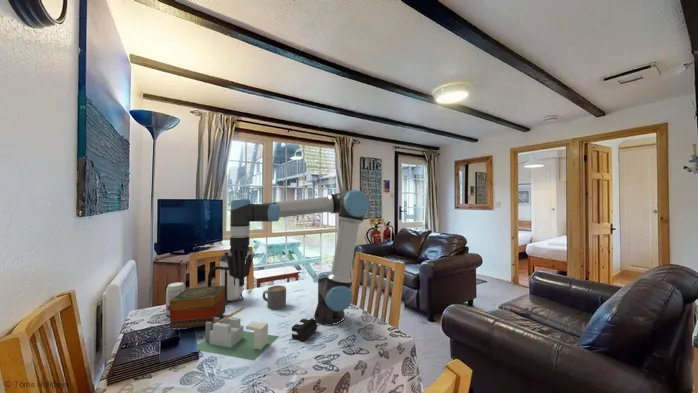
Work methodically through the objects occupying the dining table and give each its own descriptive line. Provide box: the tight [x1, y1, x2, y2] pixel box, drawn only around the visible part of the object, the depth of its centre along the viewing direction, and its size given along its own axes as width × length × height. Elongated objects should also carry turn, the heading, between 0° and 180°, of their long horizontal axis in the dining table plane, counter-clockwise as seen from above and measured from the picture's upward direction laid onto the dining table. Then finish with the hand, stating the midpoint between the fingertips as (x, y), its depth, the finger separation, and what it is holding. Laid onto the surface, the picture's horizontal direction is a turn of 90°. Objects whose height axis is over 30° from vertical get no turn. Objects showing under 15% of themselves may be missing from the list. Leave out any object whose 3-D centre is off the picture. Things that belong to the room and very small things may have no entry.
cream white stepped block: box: [245, 321, 269, 350], centre depth 110 cm, size 7×5×8 cm
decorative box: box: [169, 285, 226, 329], centre depth 132 cm, size 20×22×16 cm
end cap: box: [291, 318, 318, 343], centre depth 118 cm, size 10×7×7 cm
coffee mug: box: [262, 284, 287, 311], centre depth 154 cm, size 13×10×10 cm
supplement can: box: [165, 281, 186, 317], centre depth 143 cm, size 8×8×15 cm
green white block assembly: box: [196, 316, 280, 361], centre depth 112 cm, size 28×18×9 cm, turn 75°
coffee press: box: [207, 253, 245, 306], centre depth 160 cm, size 17×16×30 cm
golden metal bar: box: [212, 307, 244, 328], centre depth 114 cm, size 17×3×1 cm, turn 75°
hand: (238, 293), depth 113 cm, fingers closed
